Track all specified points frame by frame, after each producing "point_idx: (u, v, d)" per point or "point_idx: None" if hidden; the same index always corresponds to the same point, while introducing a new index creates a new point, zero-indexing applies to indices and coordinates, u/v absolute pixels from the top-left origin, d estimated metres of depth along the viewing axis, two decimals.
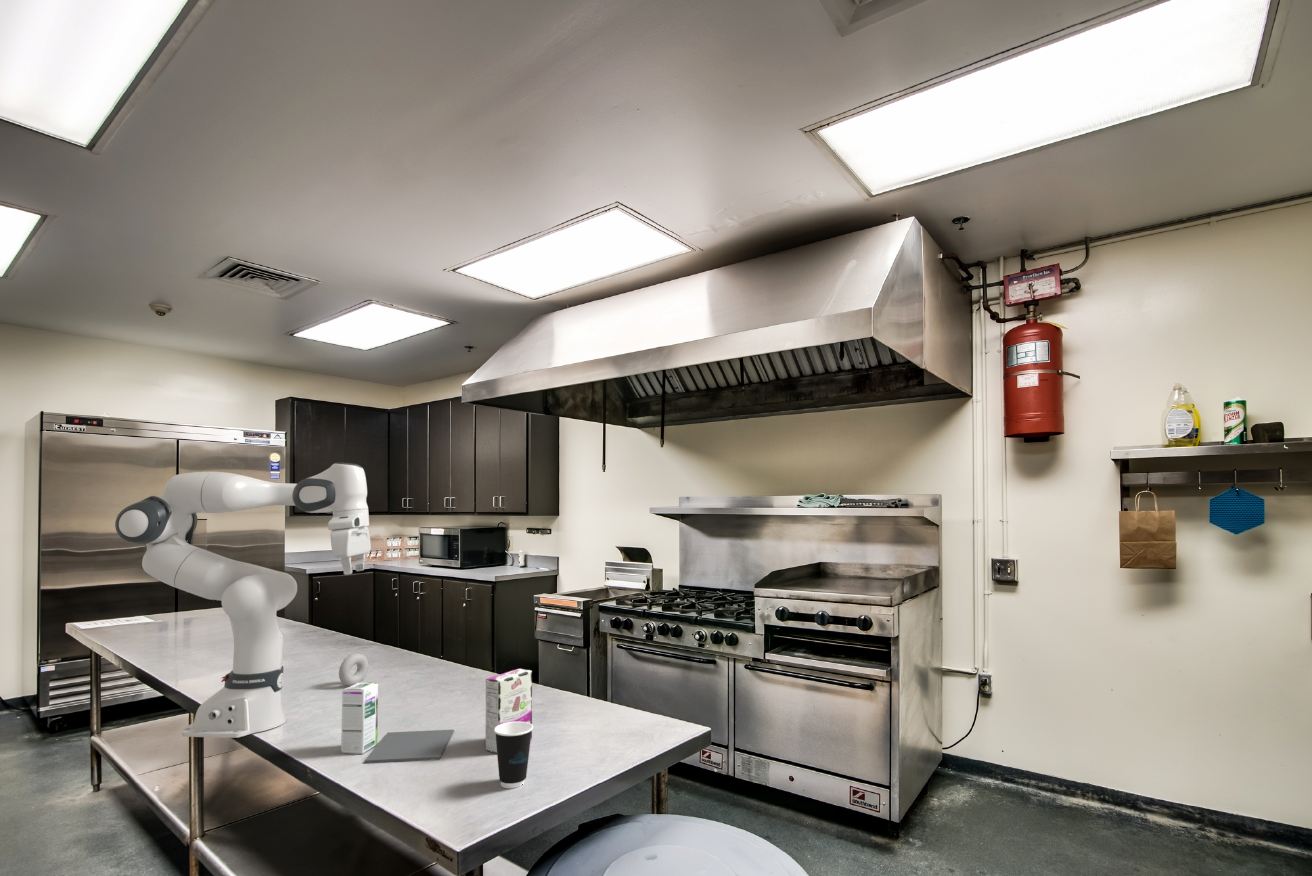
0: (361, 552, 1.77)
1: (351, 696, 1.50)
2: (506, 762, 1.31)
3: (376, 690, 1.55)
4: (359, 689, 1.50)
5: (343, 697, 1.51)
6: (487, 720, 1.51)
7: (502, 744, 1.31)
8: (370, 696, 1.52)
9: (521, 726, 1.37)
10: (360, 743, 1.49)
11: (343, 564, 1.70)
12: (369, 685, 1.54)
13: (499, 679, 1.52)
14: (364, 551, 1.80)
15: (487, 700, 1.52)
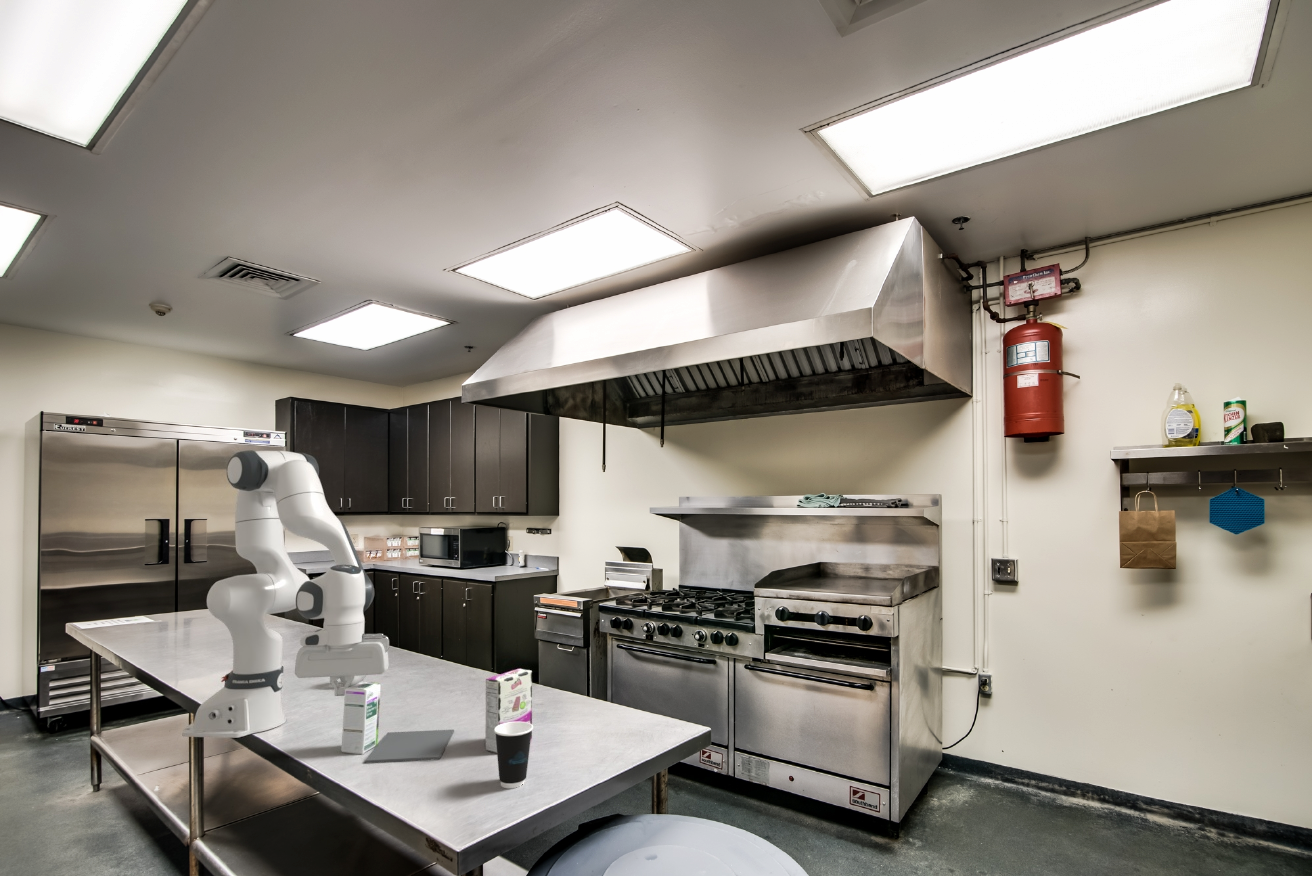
0: (345, 674, 1.51)
1: (353, 696, 1.50)
2: (506, 762, 1.31)
3: (378, 691, 1.55)
4: (362, 689, 1.50)
5: (345, 696, 1.51)
6: (487, 720, 1.51)
7: (502, 744, 1.31)
8: (373, 696, 1.52)
9: (521, 726, 1.37)
10: (361, 743, 1.49)
11: None
12: (372, 685, 1.53)
13: (499, 679, 1.52)
14: (356, 673, 1.52)
15: (487, 700, 1.52)
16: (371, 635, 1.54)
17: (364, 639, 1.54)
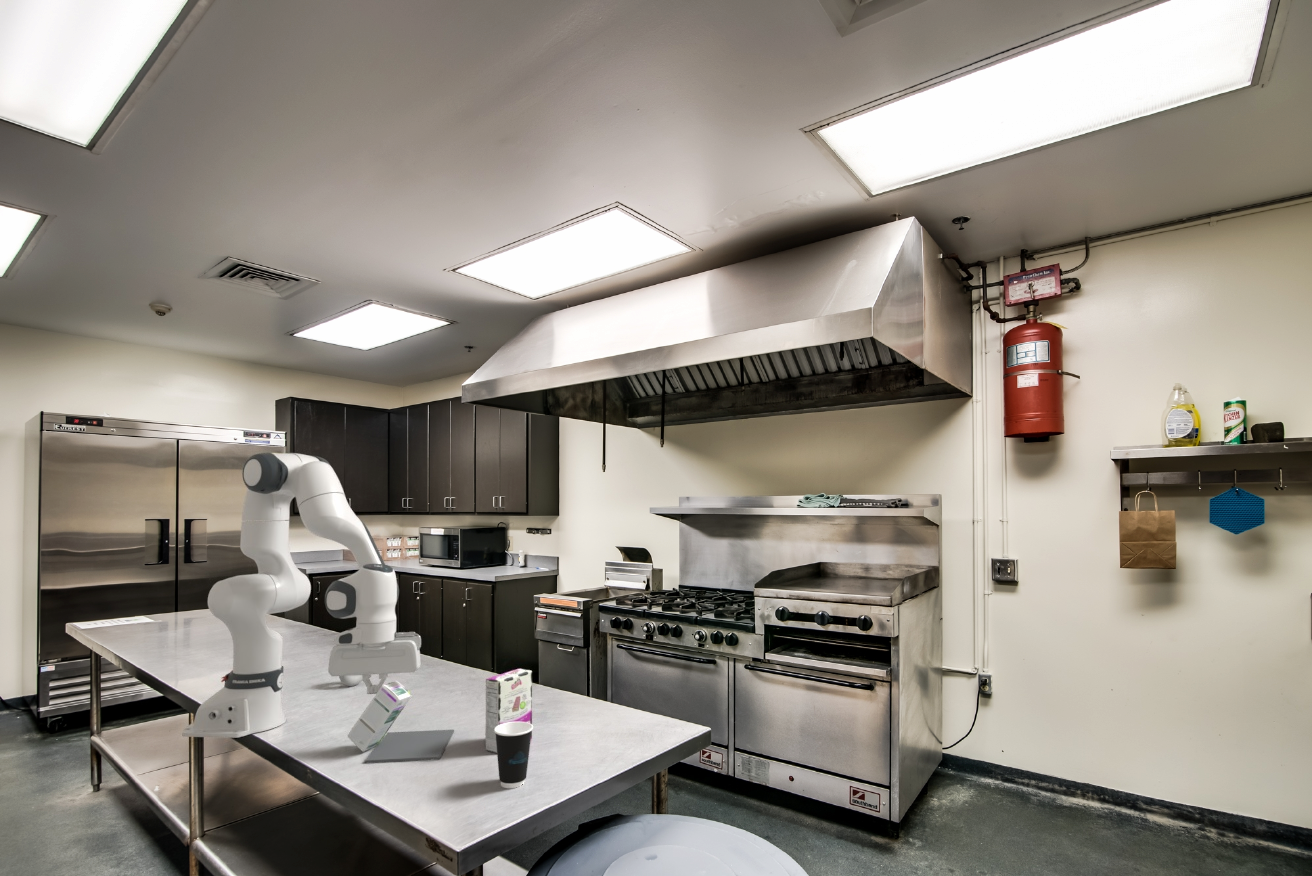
0: (378, 672, 1.52)
1: (386, 697, 1.50)
2: (506, 762, 1.31)
3: (407, 701, 1.54)
4: (396, 696, 1.50)
5: (379, 692, 1.50)
6: (487, 720, 1.51)
7: (502, 744, 1.31)
8: (400, 705, 1.52)
9: (521, 726, 1.37)
10: (367, 742, 1.49)
11: None
12: (405, 694, 1.53)
13: (499, 679, 1.52)
14: (389, 671, 1.52)
15: (487, 700, 1.52)
16: (403, 633, 1.55)
17: (396, 637, 1.55)
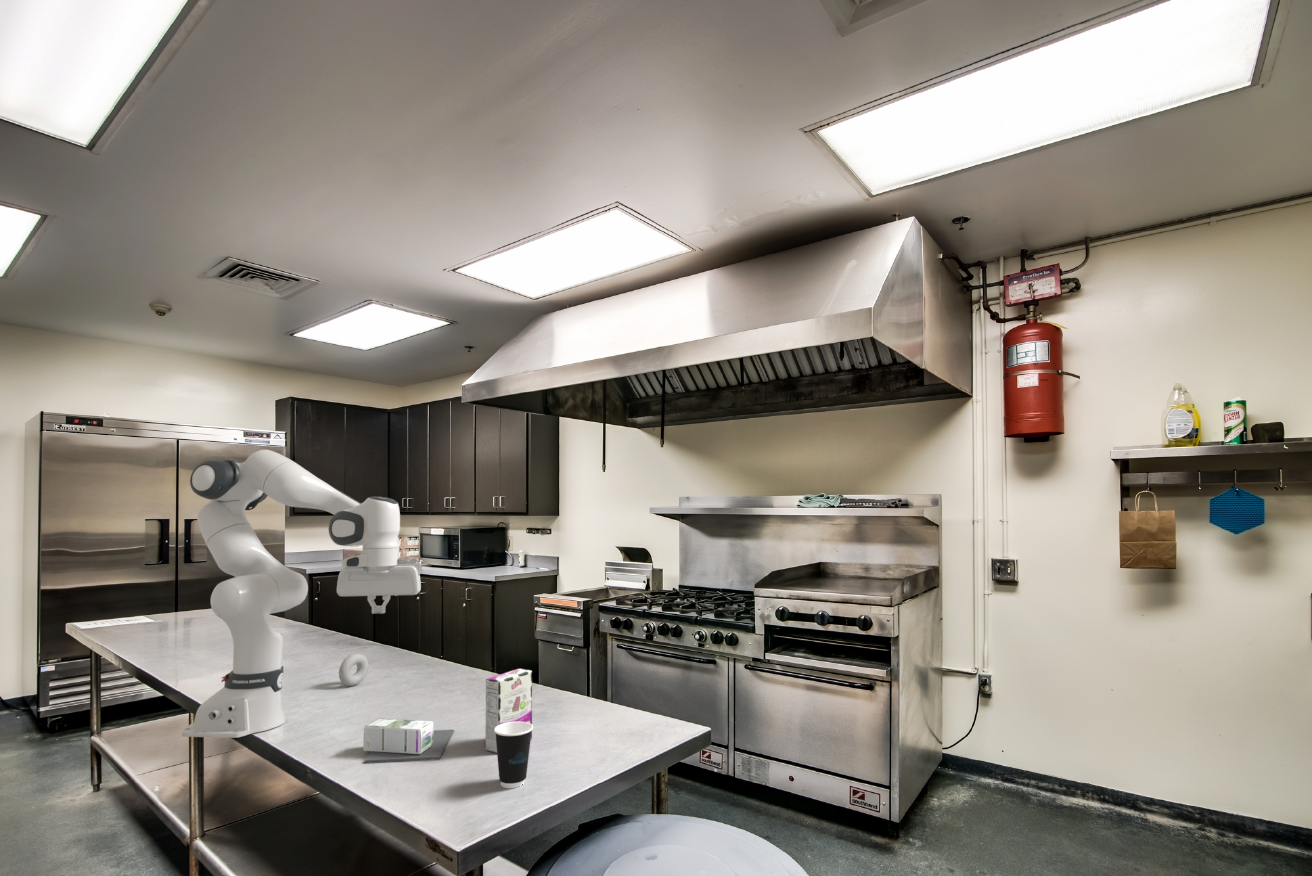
0: (382, 593, 1.67)
1: (413, 740, 1.47)
2: (506, 762, 1.31)
3: None
4: (420, 748, 1.47)
5: (412, 730, 1.47)
6: (487, 720, 1.51)
7: (502, 744, 1.31)
8: None
9: (521, 726, 1.37)
10: (372, 749, 1.48)
11: None
12: (428, 745, 1.50)
13: (499, 679, 1.52)
14: (392, 593, 1.67)
15: (487, 700, 1.52)
16: (405, 560, 1.69)
17: (399, 563, 1.69)
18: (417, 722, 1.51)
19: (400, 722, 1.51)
